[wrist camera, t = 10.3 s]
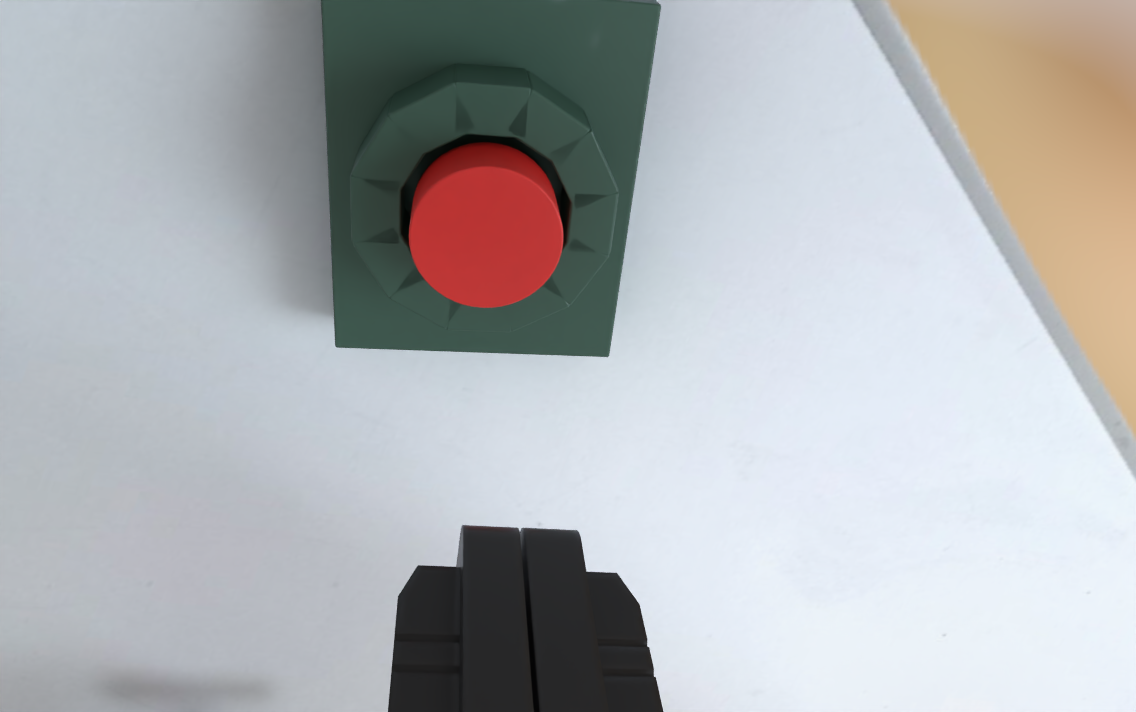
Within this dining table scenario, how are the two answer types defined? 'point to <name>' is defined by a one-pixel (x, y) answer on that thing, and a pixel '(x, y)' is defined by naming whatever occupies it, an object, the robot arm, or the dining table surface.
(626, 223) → the button block
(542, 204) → the button
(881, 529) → the dining table surface
